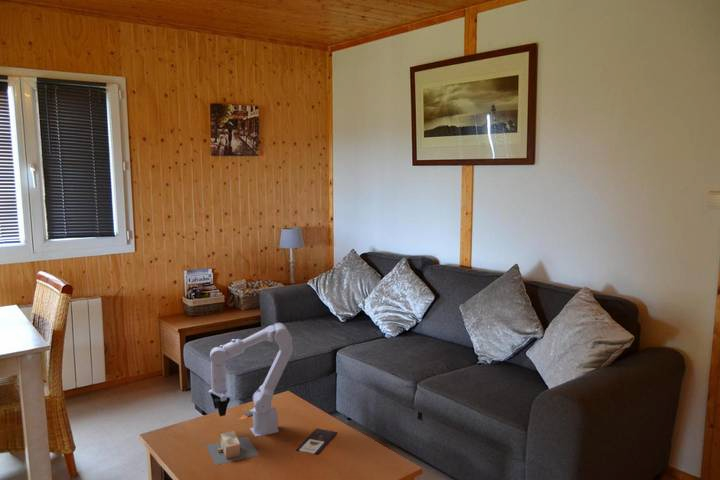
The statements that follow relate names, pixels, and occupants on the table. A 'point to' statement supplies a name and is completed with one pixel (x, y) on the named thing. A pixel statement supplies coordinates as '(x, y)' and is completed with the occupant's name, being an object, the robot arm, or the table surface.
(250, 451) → the rubber mat
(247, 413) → the key chain
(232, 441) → the birch block
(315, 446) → the chocolate bar
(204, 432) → the table surface
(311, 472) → the table surface
